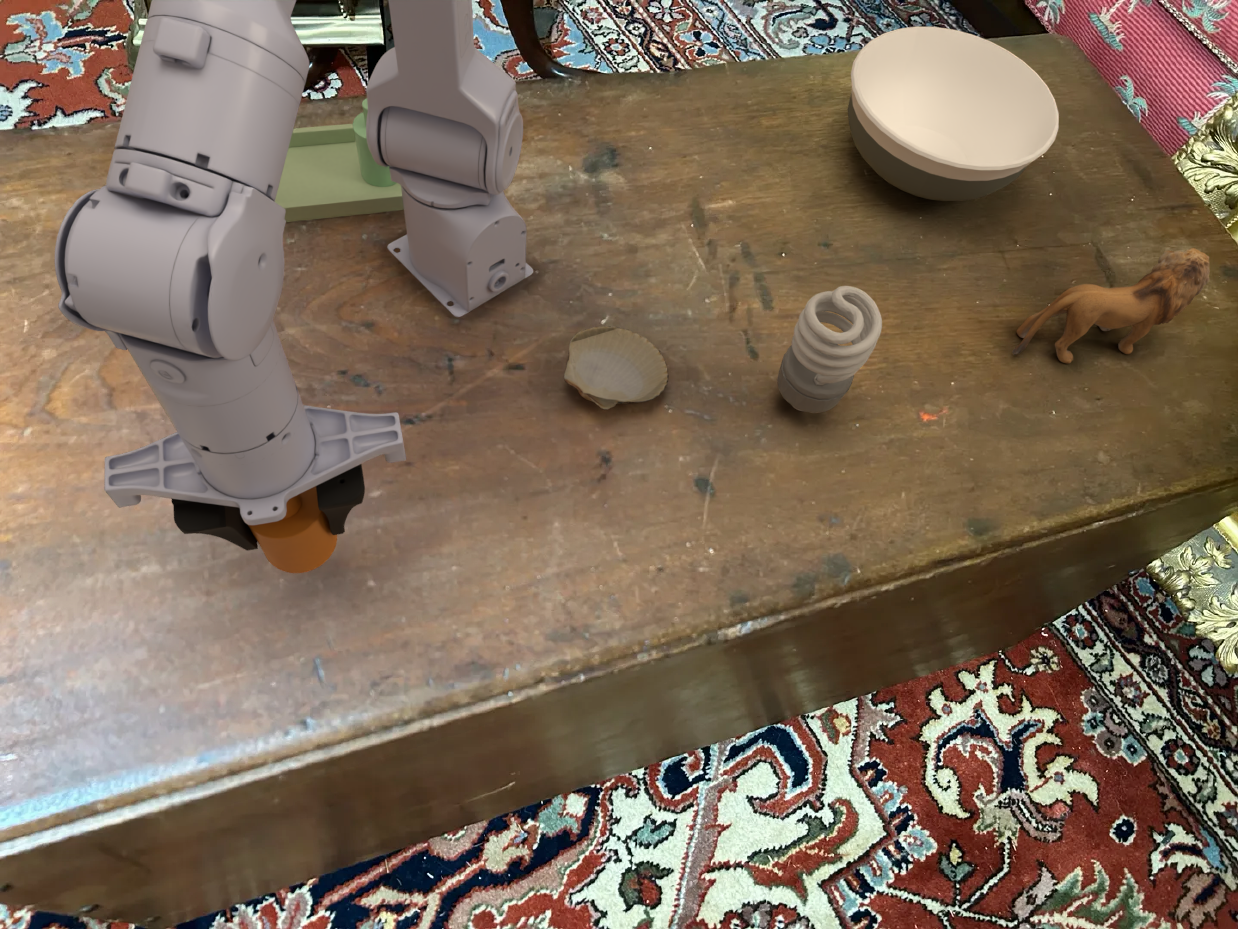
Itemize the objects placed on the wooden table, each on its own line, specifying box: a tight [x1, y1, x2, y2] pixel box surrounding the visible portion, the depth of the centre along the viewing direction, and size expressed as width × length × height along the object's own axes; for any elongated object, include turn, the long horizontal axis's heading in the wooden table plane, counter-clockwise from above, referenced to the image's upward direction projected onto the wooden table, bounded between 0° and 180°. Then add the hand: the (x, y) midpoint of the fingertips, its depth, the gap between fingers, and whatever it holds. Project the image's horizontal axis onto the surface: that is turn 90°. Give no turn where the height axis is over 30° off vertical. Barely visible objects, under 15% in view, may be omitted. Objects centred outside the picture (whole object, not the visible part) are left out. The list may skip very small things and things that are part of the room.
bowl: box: [846, 26, 1060, 202], centre depth 83 cm, size 19×19×8 cm
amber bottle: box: [248, 486, 338, 574], centre depth 53 cm, size 4×4×7 cm
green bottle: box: [352, 97, 396, 187], centre depth 74 cm, size 4×4×7 cm
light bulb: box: [776, 285, 883, 414], centre depth 66 cm, size 6×6×12 cm
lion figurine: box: [1011, 247, 1211, 364], centre depth 73 cm, size 15×5×9 cm, turn 110°
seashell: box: [563, 325, 669, 411], centre depth 69 cm, size 8×3×8 cm
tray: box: [275, 123, 404, 223], centre depth 77 cm, size 19×9×2 cm, turn 105°
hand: (293, 527), depth 54 cm, fingers closed on amber bottle, 4 cm apart
